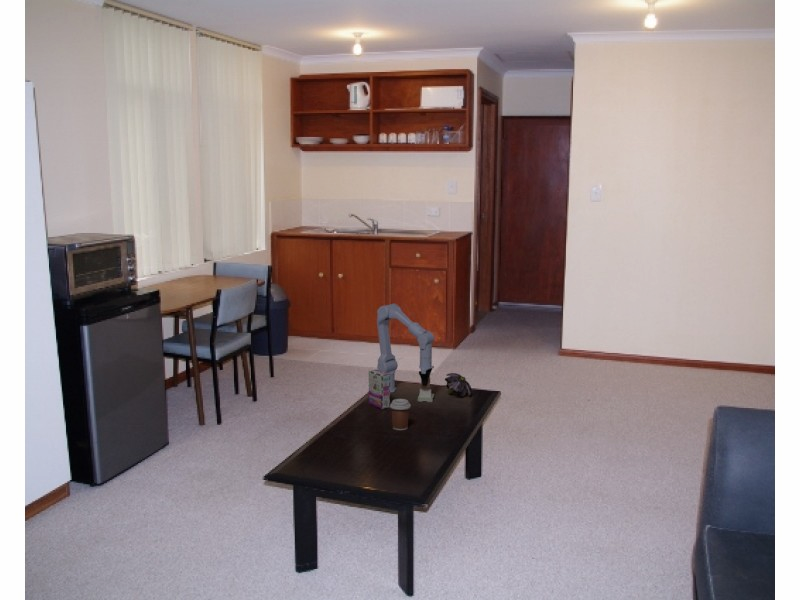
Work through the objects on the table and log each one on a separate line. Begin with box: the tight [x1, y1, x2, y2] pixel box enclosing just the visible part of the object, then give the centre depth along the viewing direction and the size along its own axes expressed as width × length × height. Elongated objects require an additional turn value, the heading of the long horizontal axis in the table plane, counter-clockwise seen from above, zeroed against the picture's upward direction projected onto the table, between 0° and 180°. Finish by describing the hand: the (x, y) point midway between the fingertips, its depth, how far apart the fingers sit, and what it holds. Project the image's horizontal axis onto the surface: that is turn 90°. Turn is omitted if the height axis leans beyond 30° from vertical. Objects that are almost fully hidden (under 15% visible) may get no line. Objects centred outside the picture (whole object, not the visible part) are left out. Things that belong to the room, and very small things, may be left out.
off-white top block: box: [419, 388, 432, 397], centre depth 350 cm, size 6×6×2 cm
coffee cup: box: [389, 398, 412, 431], centre depth 310 cm, size 9×9×12 cm
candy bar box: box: [368, 369, 391, 410], centre depth 339 cm, size 11×5×16 cm, turn 37°
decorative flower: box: [444, 372, 473, 399], centre depth 356 cm, size 15×12×15 cm
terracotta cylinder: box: [420, 377, 431, 389], centre depth 349 cm, size 4×4×4 cm
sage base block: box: [417, 393, 435, 403], centre depth 350 cm, size 7×7×2 cm
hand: (425, 384), depth 349 cm, fingers closed on terracotta cylinder, 4 cm apart
